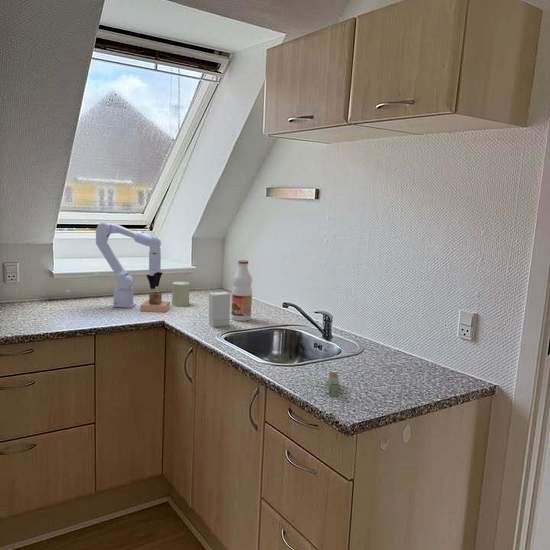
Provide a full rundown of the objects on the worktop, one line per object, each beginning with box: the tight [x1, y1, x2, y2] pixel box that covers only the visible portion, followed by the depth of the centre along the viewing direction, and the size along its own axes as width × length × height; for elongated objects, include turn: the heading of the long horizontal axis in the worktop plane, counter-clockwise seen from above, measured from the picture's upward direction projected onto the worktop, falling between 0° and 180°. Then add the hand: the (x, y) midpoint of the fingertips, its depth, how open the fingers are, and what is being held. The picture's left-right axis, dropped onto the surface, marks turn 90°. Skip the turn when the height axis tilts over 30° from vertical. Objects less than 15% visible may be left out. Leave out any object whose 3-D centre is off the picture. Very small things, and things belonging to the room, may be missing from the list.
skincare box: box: [208, 291, 231, 328], centre depth 234 cm, size 8×6×15 cm
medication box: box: [327, 371, 340, 398], centre depth 161 cm, size 12×3×4 cm, turn 177°
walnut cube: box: [148, 292, 163, 305], centre depth 261 cm, size 5×5×5 cm
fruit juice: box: [230, 259, 253, 322], centre depth 247 cm, size 9×9×28 cm
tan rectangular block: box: [139, 300, 171, 313], centre depth 261 cm, size 12×12×3 cm
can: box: [171, 281, 191, 307], centre depth 275 cm, size 9×9×12 cm
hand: (154, 287), depth 266 cm, fingers open, 7 cm apart
